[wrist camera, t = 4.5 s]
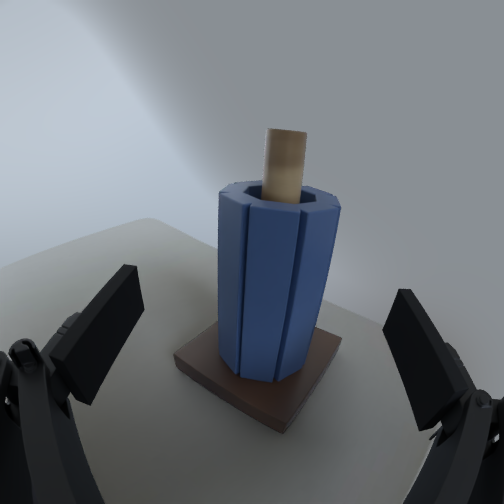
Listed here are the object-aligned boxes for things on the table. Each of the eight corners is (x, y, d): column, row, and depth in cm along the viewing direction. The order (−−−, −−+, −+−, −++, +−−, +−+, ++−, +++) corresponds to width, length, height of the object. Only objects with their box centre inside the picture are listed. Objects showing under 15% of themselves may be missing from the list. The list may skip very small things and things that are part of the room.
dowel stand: (337, 350, 20) (388, 147, 13) (282, 434, 14) (354, 139, 7) (247, 310, 25) (259, 127, 18) (175, 366, 18) (153, 127, 11)
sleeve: (321, 356, 18) (361, 204, 13) (252, 395, 15) (271, 218, 10) (271, 312, 22) (286, 178, 17) (206, 337, 19) (202, 185, 14)
